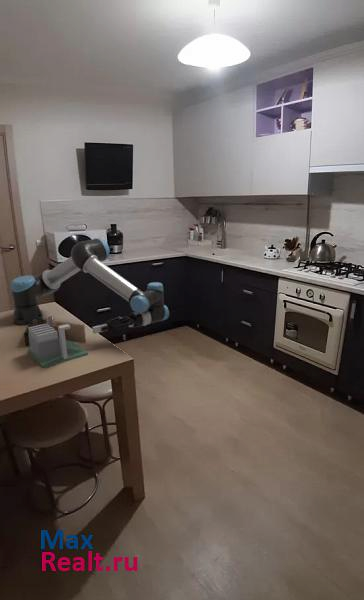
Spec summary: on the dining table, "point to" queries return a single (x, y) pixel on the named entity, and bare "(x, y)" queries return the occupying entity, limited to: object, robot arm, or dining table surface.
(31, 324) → the beverage carton
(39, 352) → the heat sink
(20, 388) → the dining table surface
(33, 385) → the dining table surface
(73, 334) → the hinge
